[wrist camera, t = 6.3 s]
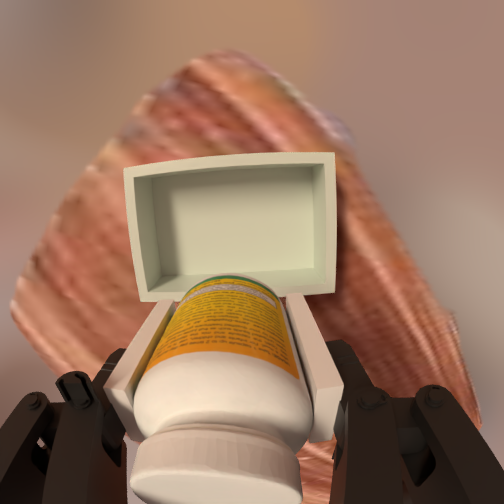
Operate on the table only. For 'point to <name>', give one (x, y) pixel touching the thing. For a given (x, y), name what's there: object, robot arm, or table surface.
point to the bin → (234, 222)
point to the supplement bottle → (223, 401)
